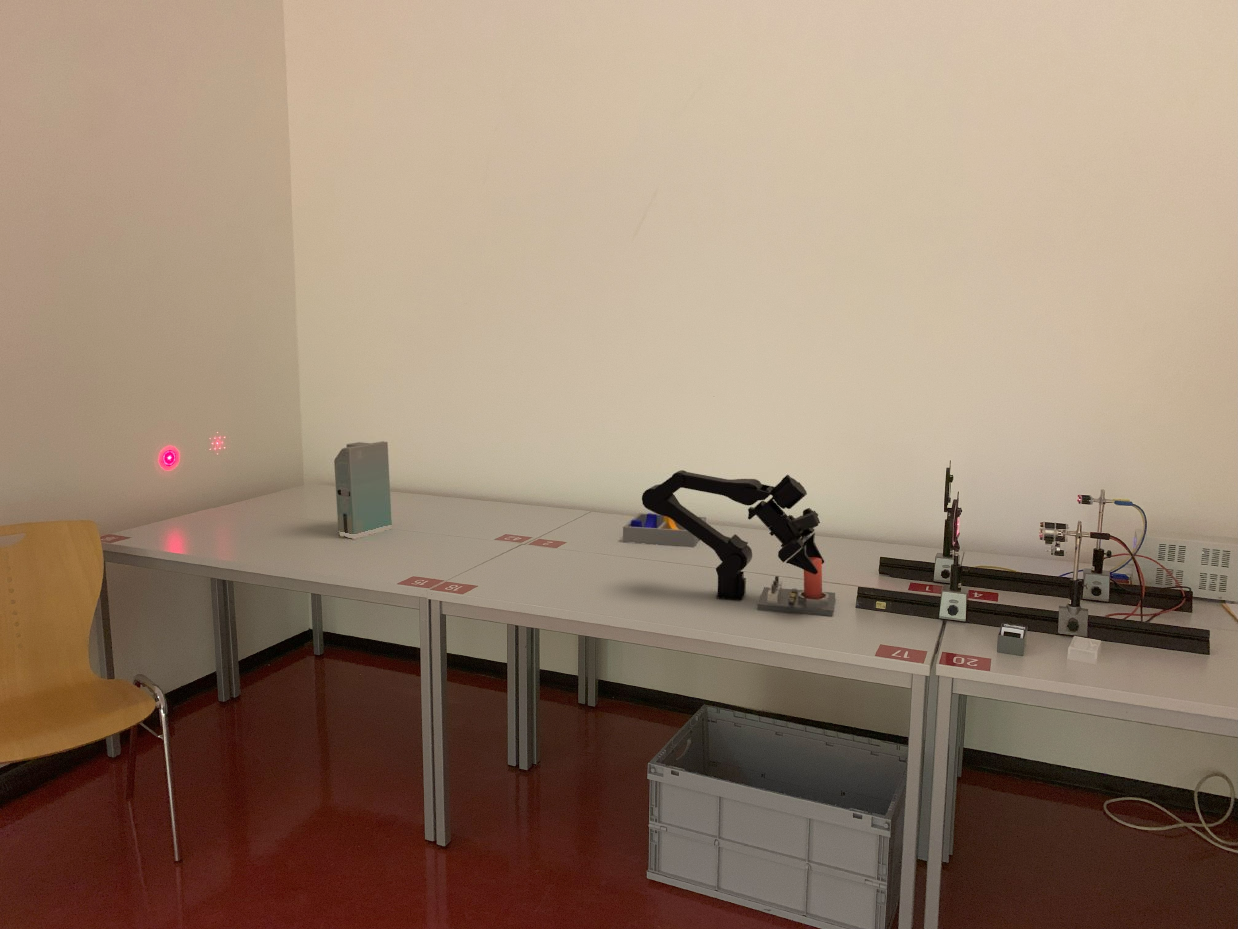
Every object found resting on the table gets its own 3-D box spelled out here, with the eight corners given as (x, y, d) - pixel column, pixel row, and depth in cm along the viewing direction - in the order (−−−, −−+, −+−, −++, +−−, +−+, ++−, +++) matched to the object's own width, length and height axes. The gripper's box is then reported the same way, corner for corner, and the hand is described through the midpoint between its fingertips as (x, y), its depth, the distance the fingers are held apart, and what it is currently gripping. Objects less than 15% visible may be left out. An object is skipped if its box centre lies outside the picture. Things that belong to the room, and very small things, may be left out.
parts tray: (623, 542, 284) (623, 526, 283) (639, 527, 303) (639, 513, 302) (694, 547, 277) (694, 531, 277) (706, 531, 296) (706, 517, 296)
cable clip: (643, 540, 287) (643, 522, 286) (631, 538, 289) (631, 520, 288) (660, 532, 297) (660, 514, 296) (648, 530, 299) (648, 513, 298)
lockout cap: (803, 601, 220) (802, 561, 219) (804, 595, 224) (804, 557, 223) (821, 601, 219) (821, 562, 217) (822, 596, 223) (822, 557, 222)
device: (376, 526, 307) (371, 440, 302) (392, 529, 303) (388, 441, 298) (338, 536, 293) (332, 446, 288) (354, 539, 289) (349, 448, 284)
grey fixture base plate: (757, 609, 219) (757, 588, 218) (764, 592, 232) (764, 572, 231) (832, 616, 214) (833, 594, 213) (835, 598, 227) (835, 577, 226)
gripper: (792, 507, 211) (838, 557, 208) (807, 493, 228) (849, 539, 225) (759, 537, 215) (803, 586, 213) (775, 520, 232) (817, 565, 230)
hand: (820, 568), depth 220 cm, fingers open, 9 cm apart
